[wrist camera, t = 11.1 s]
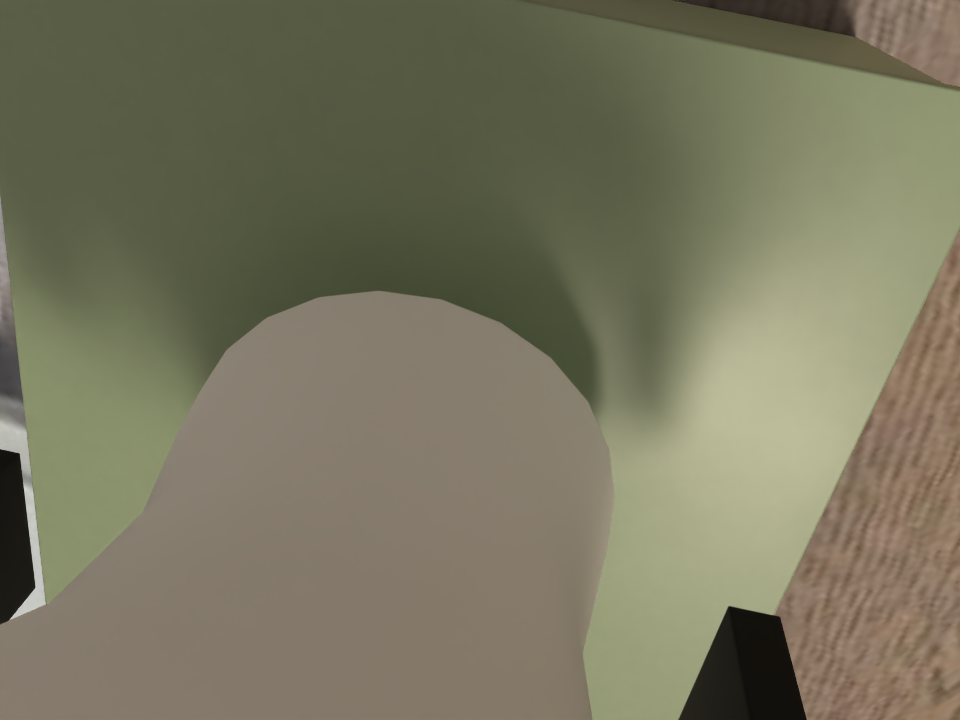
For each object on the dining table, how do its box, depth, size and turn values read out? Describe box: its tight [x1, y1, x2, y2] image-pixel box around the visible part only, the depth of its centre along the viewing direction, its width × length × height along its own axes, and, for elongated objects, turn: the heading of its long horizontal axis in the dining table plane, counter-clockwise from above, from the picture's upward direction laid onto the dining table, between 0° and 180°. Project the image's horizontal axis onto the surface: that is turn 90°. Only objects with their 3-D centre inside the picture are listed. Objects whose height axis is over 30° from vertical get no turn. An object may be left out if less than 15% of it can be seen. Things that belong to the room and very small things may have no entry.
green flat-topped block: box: [0, 0, 960, 720], centre depth 20 cm, size 16×16×8 cm
